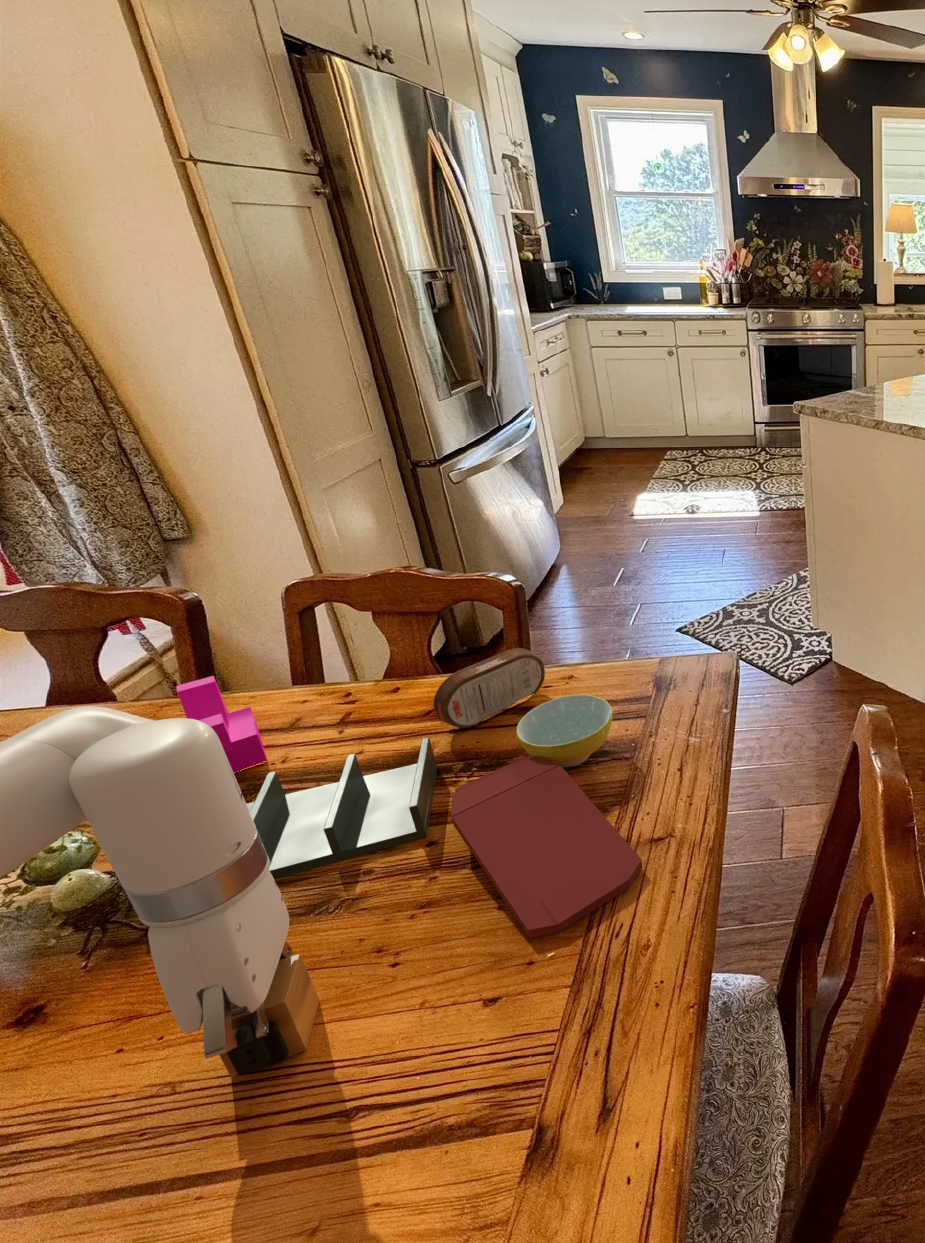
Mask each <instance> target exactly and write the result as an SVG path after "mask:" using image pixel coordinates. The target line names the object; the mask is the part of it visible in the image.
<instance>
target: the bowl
mask: <svg viewBox="0 0 925 1243" xmlns="http://www.w3.org/2000/svg"><path fill="white" fill-rule="evenodd" d="M612 724H613V707H612V706H611V704H610V703H609V702H608V701H607V700H606V699H604V698H602V697H599V696H595V695H590V694H572V695H565V696H561V697H557V698H553V699H551V700H548V701H546V702H543V703H541V704H539V705H537V706H535V707H534V708H532V709H531V710H529V711H528V712H527V713H526V714H525V715H524V716H523V717H522V718H521V719H520V720H519V722H518V724H517V725H516V736H517V739H518V741H519V744H520V746H522V748H523V749H524V751H526V753H527V754H528V755H529V756H531V758H532V757H534V756H536V757H539V758H542V759H545V760H548V761H551V762H554V763H557V764H560V765H561V767H562V768H572V767H576V766H579V765H581V764H583V763H584V762H586V761H587V760H588V759H589V757H590V756H591V755H592V754H593V753H595V752H596V751H597V750H598V749H599V748H600V747H601V746H602V745H603V744H604V743H605V741H606V739H607V737H608V736H609V733H610V730H611V729H612Z"/></svg>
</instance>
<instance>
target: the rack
mask: <svg viewBox="0 0 925 1243" xmlns="http://www.w3.org/2000/svg"><path fill="white" fill-rule="evenodd" d="M420 743H421V744H420V748H419V754H418V757H417V758H418V759H417V763H413V764H409V765H404V766H401V767H397V768H392V769H388V770H383V771H379V772H376V773H370V774H366V775H364V774H363V772H362V769H361V766H360V763H359V760H358V757H357V754H356V753H352V754H347V757H346V760H345V763H344V766H343V769H342V772H341V775H340V778H339V781H337V782H332V783H327V784H324V785H320V786H315V787H311V788H307V789H303V790H298V791H294V792H291V793H285V791H284V789H283V788H284V787H283V786H282V783H281V780H280V777H279V775H278V773H277V771H276V770H275V771H271V772H267V775H266V776H265V779H264V780H263V783H262V785H261V787H260V790H259V792H258V793H257V796H256V798H255V800H254V801H251V802H246V804H247V807H248V809H249V812H250V814H251V816H252V819H253V821H254V824H255V826H256V828H257V831H258V833H259V836H260V838H261V840H262V843H263V845H264V848H265V850H266V852H267V855H268V857H269V860H270V867H269V871H270V873H271V874H272V876H273V878H274V880H276V879H279V878H282V877H287V876H290V875H294V874H298V873H300V872H304V871H308V870H311V869H312V870H313V869H316V868H320V867H323V866H326V865H330V864H335V863H337V862H341V861H345V860H349V859H352V858H356V857H360V856H363V855H367V854H370V853H375V852H379V851H381V850H385V849H389V848H393V847H397V846H400V845H404V844H407V843H412V842H416V841H418V840H419V841H420V840H422V839H425V838H428V832H429V826H430V818H431V813H432V812H431V811H432V807H433V806H432V805H433V798H434V792H435V785H436V778H437V774H438V773H437V772H438V763H437V760H436V756H435V752H434V749H433V746H432V742H431V739H430V737H423V738H421V742H420Z"/></svg>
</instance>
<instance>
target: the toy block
mask: <svg viewBox="0 0 925 1243" xmlns="http://www.w3.org/2000/svg"><path fill="white" fill-rule="evenodd" d="M216 680H217V679H215V676H214V675H210V676H207V677H203V678H201V679H200V678H199V679H197V680H193V681H188V682H186V683H185V682H184V683H182V684H178V685H176V693H177V696H178V698H179V700H180V704H181V706H182V708H183V711H184V714H185V718H187V719H195V720H198V721H201V722H204V723H205V724H207V725H209V726H210V727H211V728H212V729H213V730H214V731H215V733H216V734H217V736H218V737H219V740H220V742H221V744H222V747H223V749H224V751H225V754H226V756H227V759H228V761H229V763H230V766H231V768H232V771H233V773H234V772H237V771H240V770H242V769H244V768H247V767H250V766H253V765H256V764H258V763H261V762H263V761H268V757H267V754H265V753H266V750H265V746H264V743H263V744H262V742H263V738H262V736H261V737H260V735H261V732H260V733H259V731H260V729H259V730H258V728H259V725H258V722H257V720H256V717H255V715H254V712H253V709H252V707H251V706H249V707H248V706H247V707H245V708H241V709H238V710H235V711H231V712H229V710H228V708H227V705H226V702H225V700H224V698H223V696H222V693H221V690H220V688H219V685H218V683H217V681H216ZM257 725H258V726H257ZM261 739H262V740H261ZM263 746H264V747H263ZM264 750H265V751H264ZM266 757H267V758H266ZM268 763H269V761H268V762H267V763H264V764H261V765H265V764H268ZM261 765H258V766H261ZM258 766H255V767H254V768H257V767H258ZM238 773H239V774H240V772H238ZM238 773H235V774H234V775H236V774H238Z"/></svg>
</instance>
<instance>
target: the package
mask: <svg viewBox="0 0 925 1243" xmlns="http://www.w3.org/2000/svg"><path fill="white" fill-rule="evenodd" d="M231 1003H232V1002H231ZM319 1004H320V999H319V996H318V994H317V991H316V989H315V987H314V985H313V982H312V980H311V978H310V975H309V972H308V970H307V967H306V965H305V963H304V960H303V958H302V956H301V954H300V953H298V954H295V955H292V956H291V957H288V958H285V959H282V960H279V962H278V965H277V968H276V971H275V974H274V977H273V980H272V983H271V986H270V988H269V991H268V994H267V996H266V998H265V1000H264V1006H265V1010H266V1015H267V1019H268V1023H270V1022H276V1025H277V1027H278V1029H279V1031H280V1033H281V1035H282V1038H283V1040H284V1042H285V1044H286V1046H287V1048H288V1050H289V1053H288V1056H287V1058H290V1057H293V1056H296V1055H298V1054H300V1053H304V1052H307V1050H308V1046H309V1043H310V1038H311V1035H312V1031H313V1027H314V1024H315V1020H316V1016H317V1012H318V1008H319ZM249 1024H252V1021H251V1016H250V1012H249V1011H248V1012H245V1013H242V1014H239V1015H236V1016H233V1017H232V1028H233V1030H234V1029H237V1028H240V1027H243V1026H246V1025H249ZM218 1056H219V1057H220V1059H221V1061H222V1063H223V1065H224V1067H225V1069H226V1071H227V1073H228V1075H229V1076H230V1078H234V1077H237V1076H239V1075H238V1074H237V1072H236V1070H235V1068H234V1066H233V1064H232V1062H231V1060H230V1058H229V1057H228V1055H227V1053H226V1052H225V1053H222V1054H219V1055H218Z"/></svg>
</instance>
